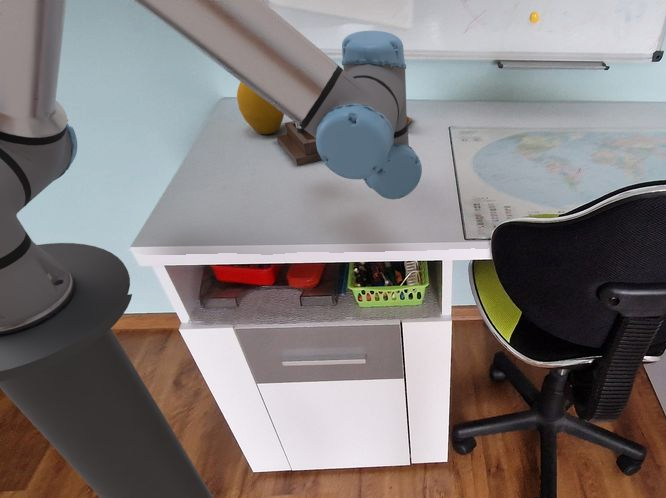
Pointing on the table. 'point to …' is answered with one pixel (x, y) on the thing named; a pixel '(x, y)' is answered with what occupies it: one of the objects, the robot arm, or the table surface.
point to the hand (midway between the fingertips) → (300, 82)
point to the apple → (258, 111)
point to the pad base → (299, 145)
